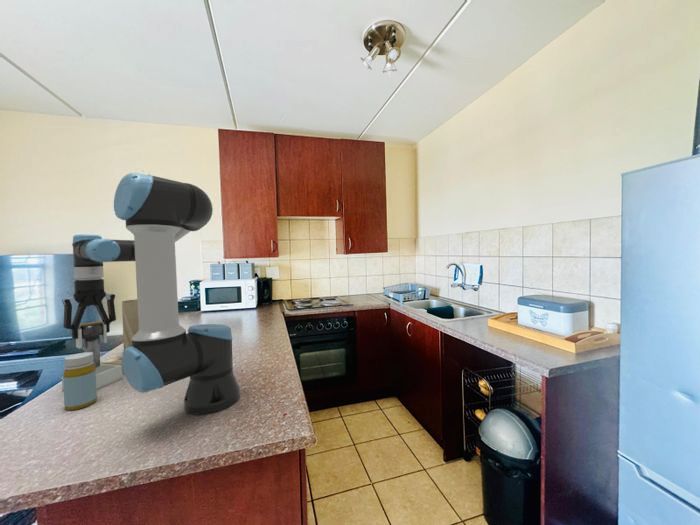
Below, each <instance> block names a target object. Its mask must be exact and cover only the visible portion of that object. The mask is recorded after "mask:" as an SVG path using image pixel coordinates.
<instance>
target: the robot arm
mask: <svg viewBox="0 0 700 525" xmlns="http://www.w3.org/2000/svg"><path fill="white" fill-rule="evenodd" d="M213 209H214V208H213V203H212V201H211V199H210V197H209V195H208V194H207V193H206V191H204V190H203V189H201V188H200V187H199V186H196V185H195V184H192V183H187V182H181V181H176V180H174V179H173V180H172V179H169V178H165V177H160V176H156V175H152V174H144V173H138V172H130V173H126V174H125V175H124V176H123V177H122V178H121V179H120V181H119V183H118V184H117V187H116V189H115V193H114V197H113V211H114V214H115V216H116V217H117V219H119V220H122V221H125V229H126V230H128V232H130V233H131V234H132V235H133V238H134V239H129V240H128V239H110V238H109V239H108V238H103V237H102V236H101V235H99V234H74V235H73V236H72V243H71V246H72V254H73V255H72V256H73V279H75V281H74V282H73V284H74V293H73V295H72V297H68V298H63V299H62V300H61V302H62V304H63V307H64V309H63V310H64V311H63V324H62V325H63V326H62V327H63V329H66V330H70V331H71V338H72V339H73V340H75V348H77V349H83V339H82V329H80V328H79V326H80V324H81V322H82V320H83V316H84V313H85V311H86V309H87V307H90V306H94V307H95V308H96V310H97V313H98V314H99V317H100V318H101V321H102V323H103V335H101V336H100V342H101V343H103V344H106V343H108V335H107V333H110V331H111V330H110V328H111V326H110V325H111V324H112V322H116V320H117V314H116V308H115V298H116V295H115V294H114V293H107V292H106V291H105V279H103V278H104V277H105V276H104V263H109V262H111V263H112V262H114V263H116V262H117V263H119V262H135V279H136V280H135V281H136V282H135V283H136V296H137V298H136V299H137V303H138V323H139V330H138V332H137V333H136V334H135V335H134V336H133V337H132V347H128V348H127V349H125V350H124V349H123V350H122V353H121V355H122V367H123V371H124V374H123V375H124V376H125V378H126V380H127V382H128V384H129V385H130V387H131V388H132V389H133V390H135V391H137V392H139V393H149V392H151V391H155V390H158V389H162V388H164V387H165V386H168V385H171V384H174V383H176V382H178V381H181V380H184V379H186V378H188V377H189V382H188V385H187V389H186V392H185V396H184V399H183V409H184V411H185V412H186V413H187V414H191V415H197V416H198V415H199V416H200V415H207V414H212V413H217V412H221V411H222V410H225V409H227V408H229V407H231V406H232V405H234V404H235V403H236V402H238V400H239V399H240V392H241V391H240V386H239V385H238V382H237V379H236V376H235V374H234V368H233V364H234V362H233V359H234V358H233V335H232V329H231V327H230V326H228V325H225V324H220V323H219V324H217V323H207V324H206V323H205V324H204V323H202V324H193V325H191V326H189V327H188V328H187V330H186V328H184V327H183V326H181V325H180V321H179V319H180V318H179V317H180V316H179V304H178V303H179V300H178V282H177V281H178V277H177V262H176V261H177V258H176V243H177V241H179V240H180V239H182V238H184V236H187V234H189V233H190V232H197V231H200V230H202V228H203V227H205V226H206V225H208V223H209V221H210V220H211V218H212V215H213ZM104 299H105V300H106V305H107V312H108V315H107V312H106V311H105V310H106V309H105V308H104V304H103V302H102V301H103V300H104ZM74 301H75V302H77V304H78V305H77V309H76V312H75V315H74V318H72V317H73V315H72V314H73V304H74ZM72 319H73V320H72ZM186 331H187V332H186Z"/></svg>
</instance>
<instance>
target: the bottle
mask: <svg viewBox="0 0 700 525" xmlns="http://www.w3.org/2000/svg"><path fill="white" fill-rule="evenodd" d="M62 376H63V385H64V391H63V403H64V408H65V410H68V411H77V410H81V409H84V408H87V407H89V406H92V405H93V404H94V403H95V402H96V401H97V400H98V399H97V398H98V396H97V395H98V394H97V391H98V390H97V389H96V367H95V366H94V364H93V353H92V352H84V351H83V352H80V353H74V354H71V355H68V356H65V357H64V370H63V374H62Z"/></svg>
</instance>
